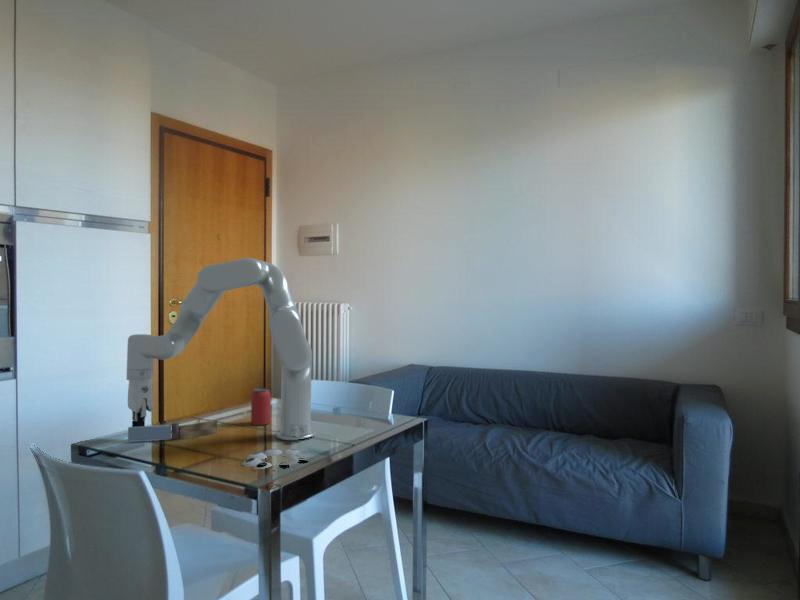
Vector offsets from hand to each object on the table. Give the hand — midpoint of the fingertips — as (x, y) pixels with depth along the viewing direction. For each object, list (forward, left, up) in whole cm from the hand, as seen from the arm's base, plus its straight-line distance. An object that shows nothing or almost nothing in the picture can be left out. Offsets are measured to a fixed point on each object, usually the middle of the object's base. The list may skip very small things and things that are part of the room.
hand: (138, 433), depth 174 cm
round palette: (-37, -37, -3) cm, 52 cm away
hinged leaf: (-3, -3, -1) cm, 5 cm away
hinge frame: (-2, -16, -2) cm, 17 cm away
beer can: (+9, -39, -2) cm, 40 cm away
